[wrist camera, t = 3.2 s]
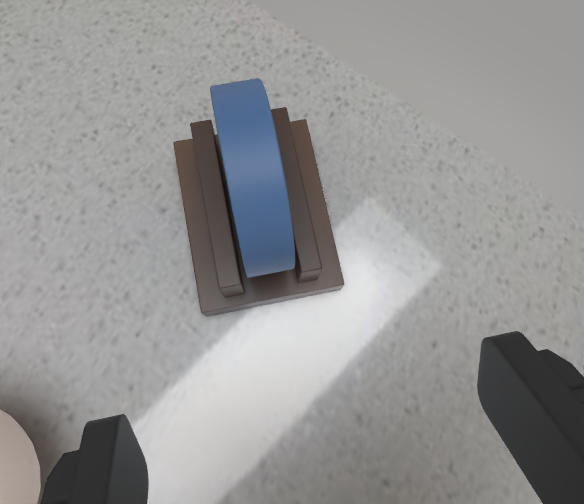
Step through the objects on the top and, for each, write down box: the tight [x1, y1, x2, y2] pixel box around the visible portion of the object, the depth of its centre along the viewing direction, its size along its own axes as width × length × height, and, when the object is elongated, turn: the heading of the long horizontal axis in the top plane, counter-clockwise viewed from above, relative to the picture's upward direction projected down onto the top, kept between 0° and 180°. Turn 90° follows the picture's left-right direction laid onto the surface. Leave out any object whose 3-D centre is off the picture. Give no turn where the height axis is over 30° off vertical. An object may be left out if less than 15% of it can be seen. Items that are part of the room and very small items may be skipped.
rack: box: [173, 107, 344, 316], centre depth 25 cm, size 7×9×4 cm
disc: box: [210, 78, 295, 278], centre depth 21 cm, size 2×8×8 cm, turn 12°
